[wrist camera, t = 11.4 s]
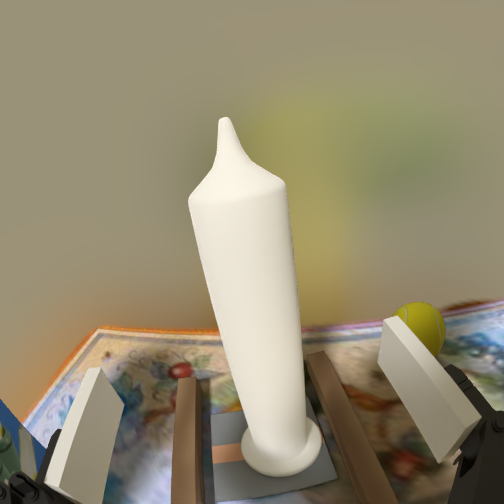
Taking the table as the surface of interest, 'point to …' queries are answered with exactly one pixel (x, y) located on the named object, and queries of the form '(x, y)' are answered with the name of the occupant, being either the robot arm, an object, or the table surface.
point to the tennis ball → (424, 324)
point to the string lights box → (17, 448)
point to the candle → (256, 304)
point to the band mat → (247, 479)
